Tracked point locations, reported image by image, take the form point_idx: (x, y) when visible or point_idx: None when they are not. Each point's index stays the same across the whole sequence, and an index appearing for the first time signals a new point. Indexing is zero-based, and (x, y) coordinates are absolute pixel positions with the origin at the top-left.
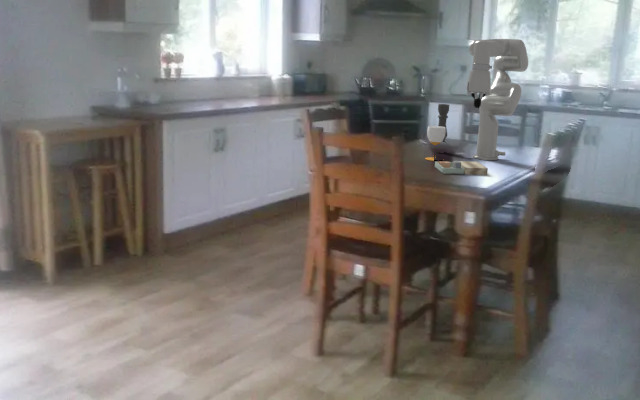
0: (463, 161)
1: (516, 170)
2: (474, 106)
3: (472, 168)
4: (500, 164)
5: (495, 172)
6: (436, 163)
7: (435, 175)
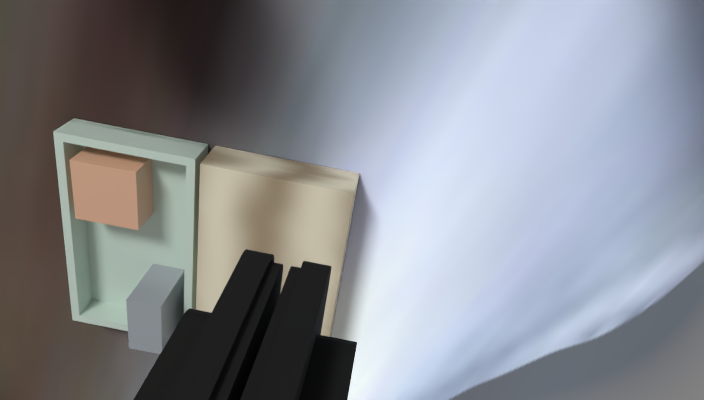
0: (248, 177)
1: (609, 253)
2: (243, 256)
3: None
4: (648, 33)
5: (418, 295)
6: (60, 171)
7: (47, 330)
